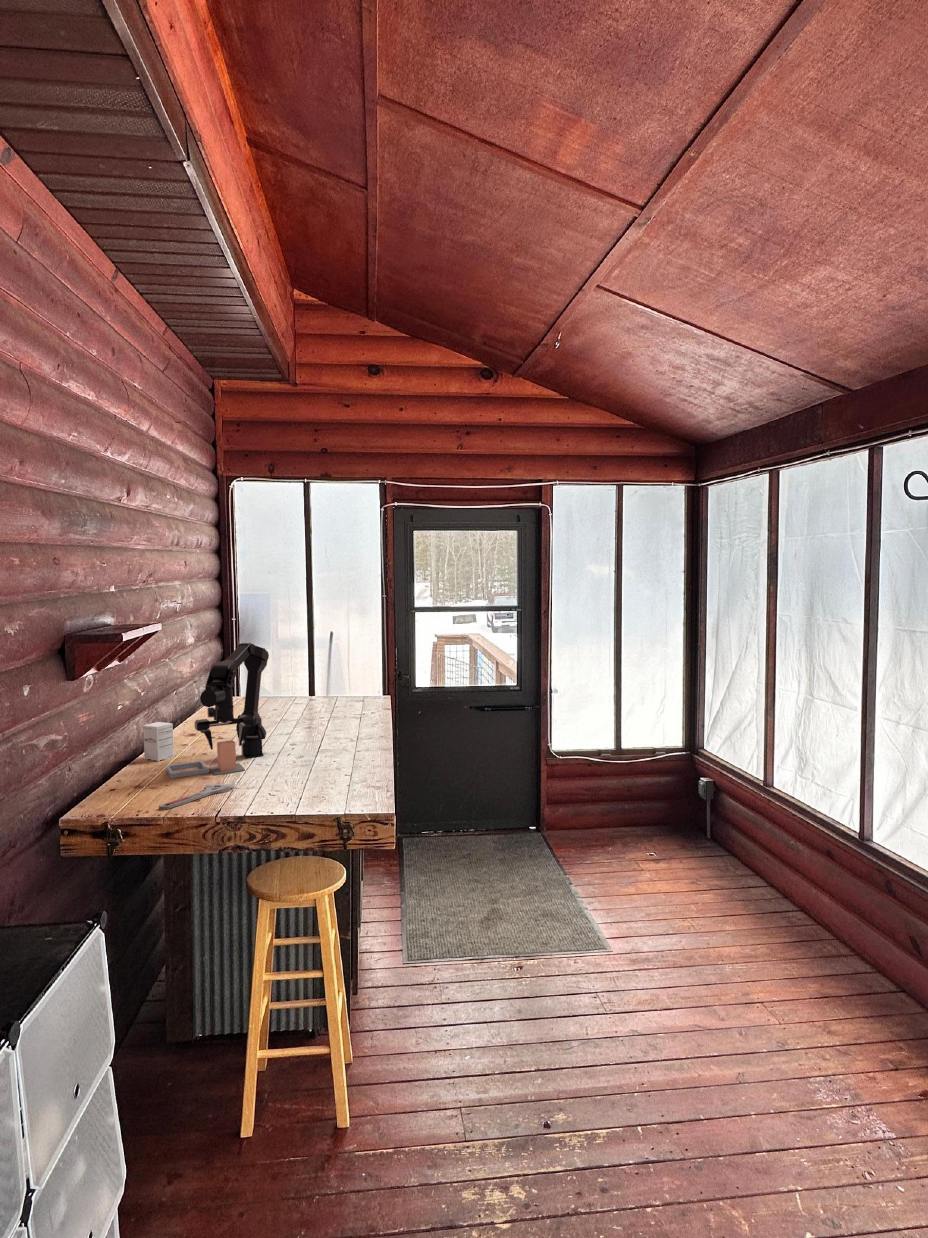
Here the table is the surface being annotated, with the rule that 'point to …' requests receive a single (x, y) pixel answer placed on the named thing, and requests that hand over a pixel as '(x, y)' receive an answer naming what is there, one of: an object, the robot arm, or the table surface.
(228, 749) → the block
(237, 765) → the place mat
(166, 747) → the supplement box
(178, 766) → the blue-grey square frame
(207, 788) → the adjustable wrench
